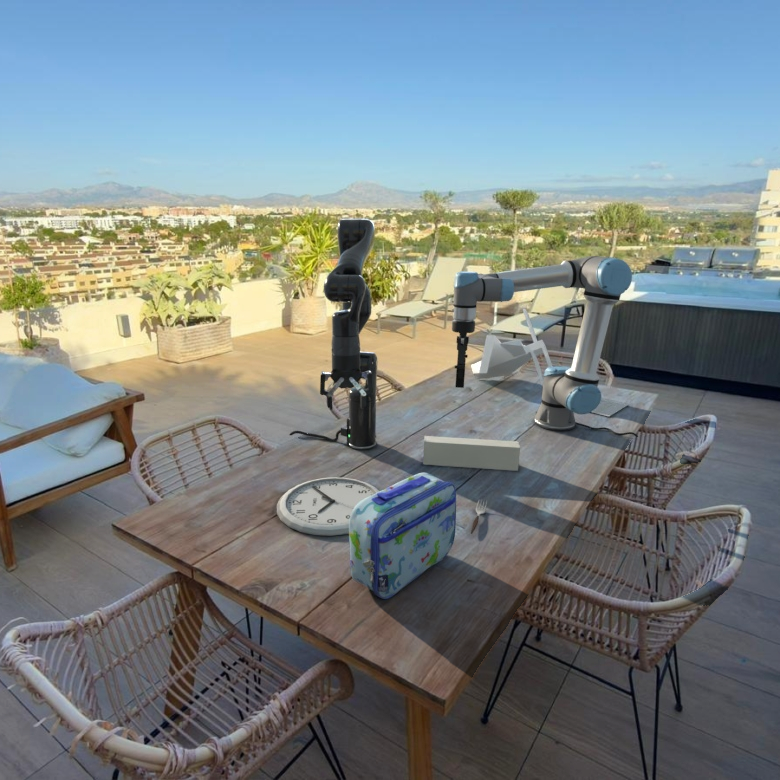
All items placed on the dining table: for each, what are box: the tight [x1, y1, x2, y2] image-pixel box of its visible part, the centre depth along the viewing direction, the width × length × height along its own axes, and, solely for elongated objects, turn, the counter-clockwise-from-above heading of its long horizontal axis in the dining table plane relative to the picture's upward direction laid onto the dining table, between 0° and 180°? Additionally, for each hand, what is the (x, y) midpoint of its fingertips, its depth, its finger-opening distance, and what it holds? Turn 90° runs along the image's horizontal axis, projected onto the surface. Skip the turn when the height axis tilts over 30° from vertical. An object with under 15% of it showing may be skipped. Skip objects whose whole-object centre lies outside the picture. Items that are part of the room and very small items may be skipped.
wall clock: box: [276, 476, 381, 537], centre depth 142 cm, size 30×2×30 cm
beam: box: [422, 435, 521, 472], centre depth 168 cm, size 30×5×8 cm, turn 83°
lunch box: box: [348, 471, 457, 600], centre depth 113 cm, size 26×11×21 cm, turn 134°
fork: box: [470, 498, 488, 535], centre depth 136 cm, size 3×16×2 cm, turn 160°
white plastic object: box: [470, 308, 554, 388], centre depth 255 cm, size 37×45×31 cm
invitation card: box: [590, 398, 629, 418], centre depth 226 cm, size 21×1×15 cm
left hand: (346, 408), depth 144 cm, fingers open, 8 cm apart
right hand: (460, 381), depth 178 cm, fingers open, 13 cm apart
